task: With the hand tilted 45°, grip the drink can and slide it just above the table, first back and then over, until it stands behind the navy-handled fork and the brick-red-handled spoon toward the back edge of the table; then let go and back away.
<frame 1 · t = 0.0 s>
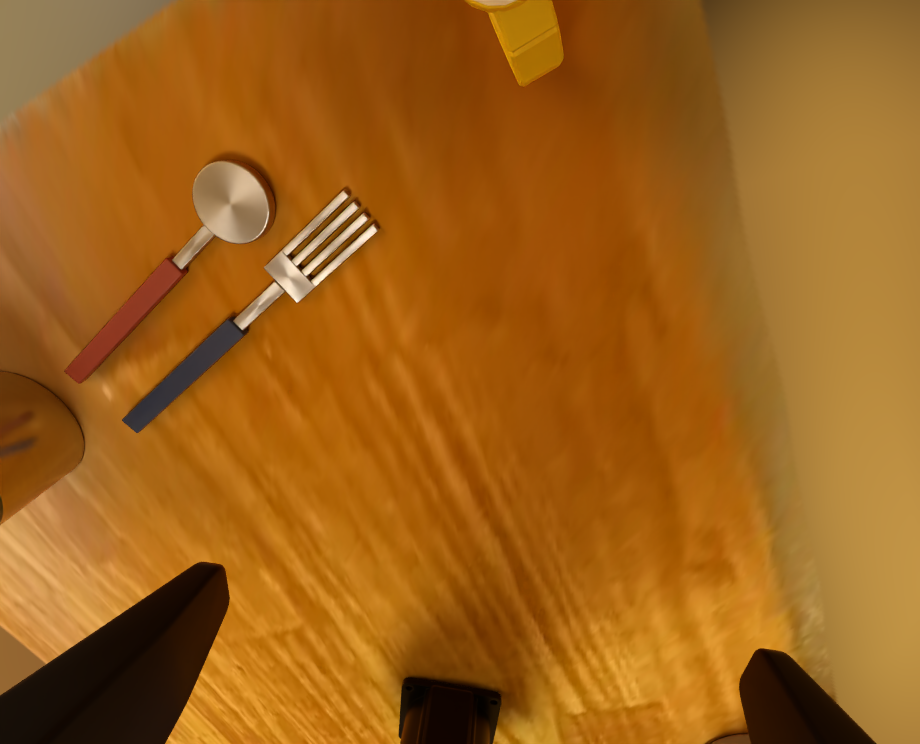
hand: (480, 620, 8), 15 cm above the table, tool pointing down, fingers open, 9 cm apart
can: (24, 425, 27), on the table
fork: (234, 329, 23), on the table
spoon: (168, 277, 22), on the table
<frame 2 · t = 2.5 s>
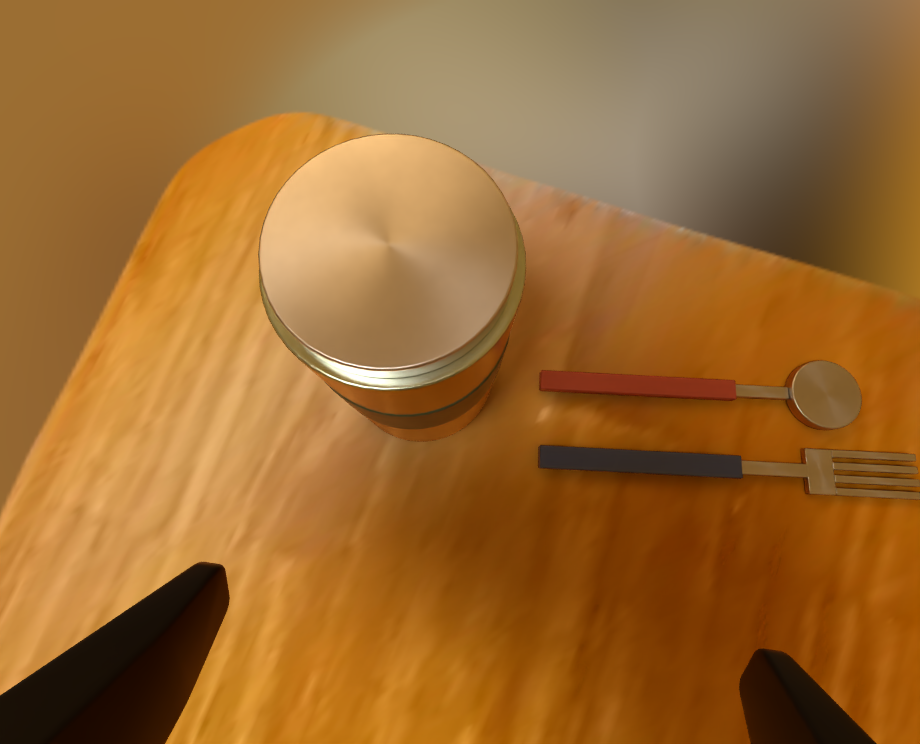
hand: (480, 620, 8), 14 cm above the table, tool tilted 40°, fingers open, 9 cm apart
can: (422, 371, 24), on the table
fork: (725, 467, 23), on the table
spoon: (709, 390, 23), on the table
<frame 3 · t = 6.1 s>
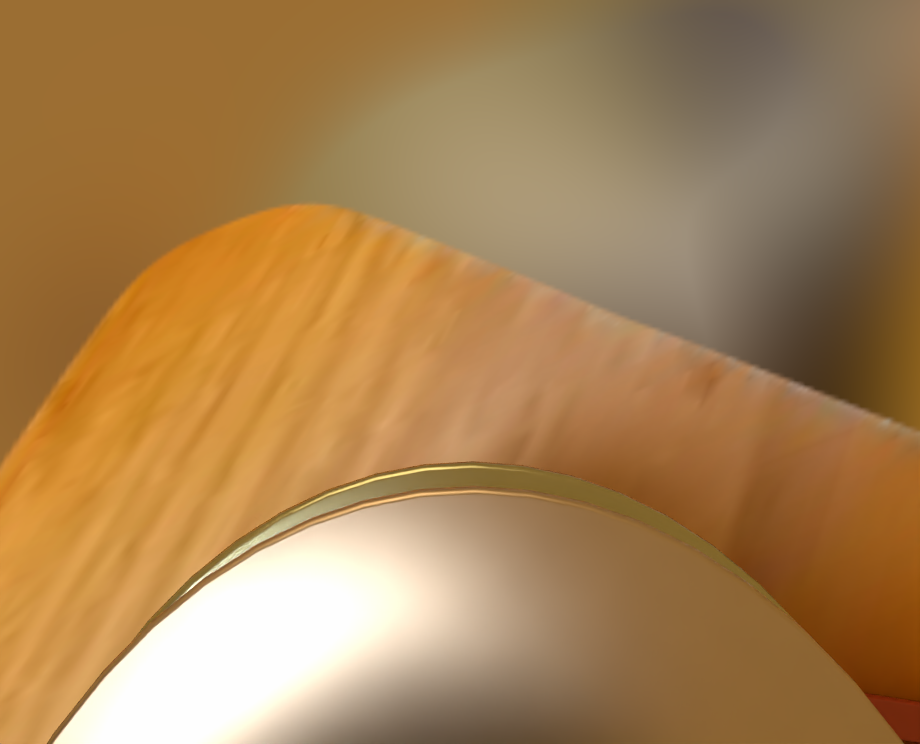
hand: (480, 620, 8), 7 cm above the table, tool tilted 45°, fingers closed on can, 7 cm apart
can: (466, 639, 14), on the table, touching gripper
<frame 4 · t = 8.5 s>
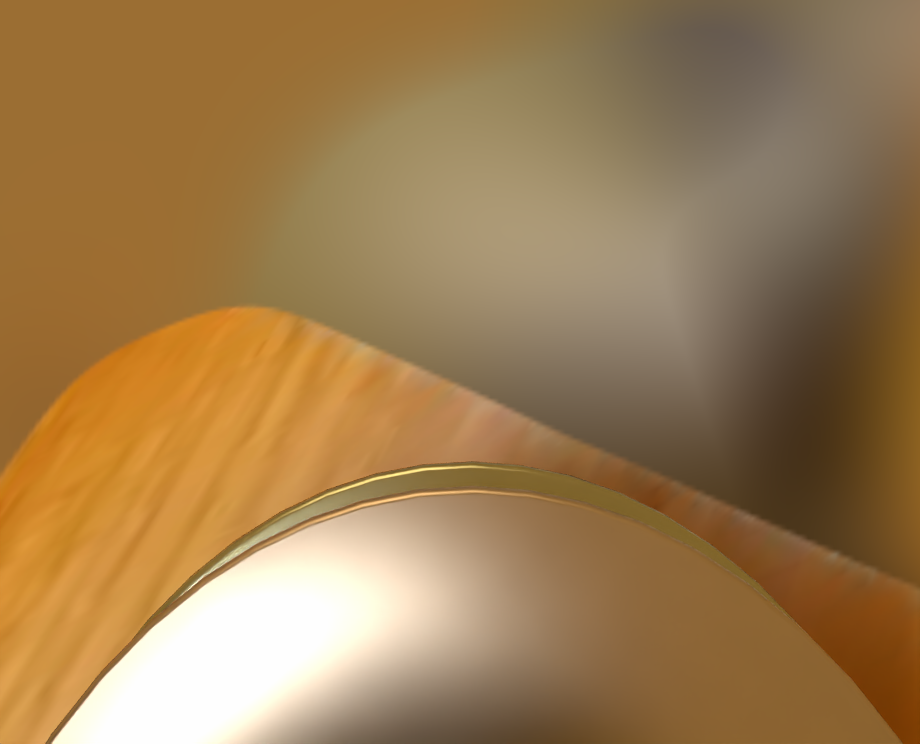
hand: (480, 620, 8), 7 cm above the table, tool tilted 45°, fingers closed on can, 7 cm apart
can: (466, 639, 14), point 1 cm above the table, touching gripper
when the fingers open (7 cm above the table, at t = 11.0 s): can stays where it is, on the table.
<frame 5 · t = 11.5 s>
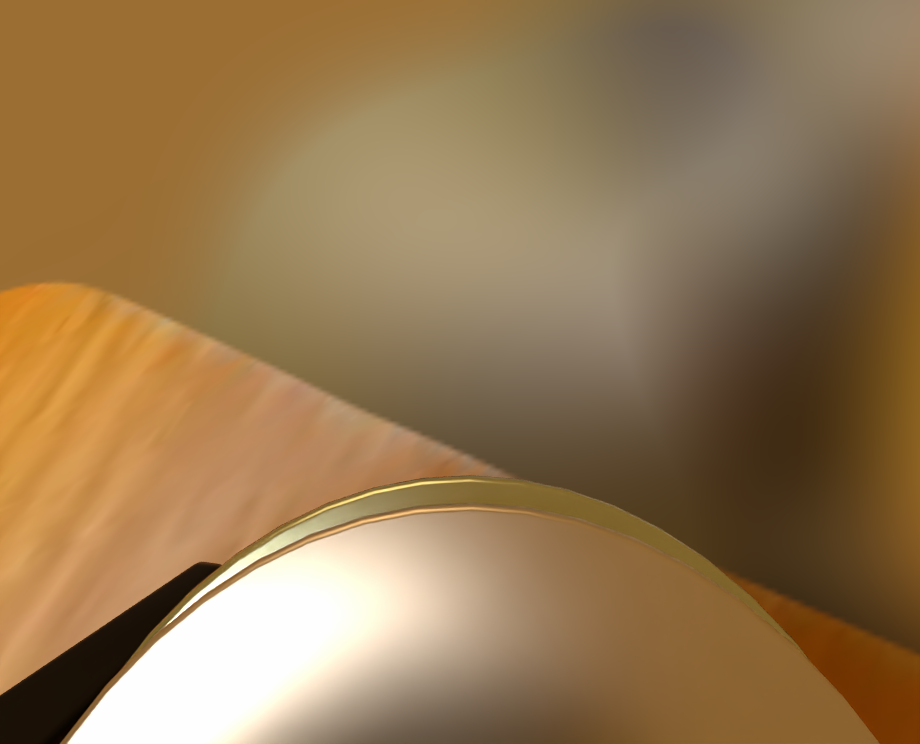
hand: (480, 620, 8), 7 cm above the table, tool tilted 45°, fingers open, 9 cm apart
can: (465, 643, 14), on the table
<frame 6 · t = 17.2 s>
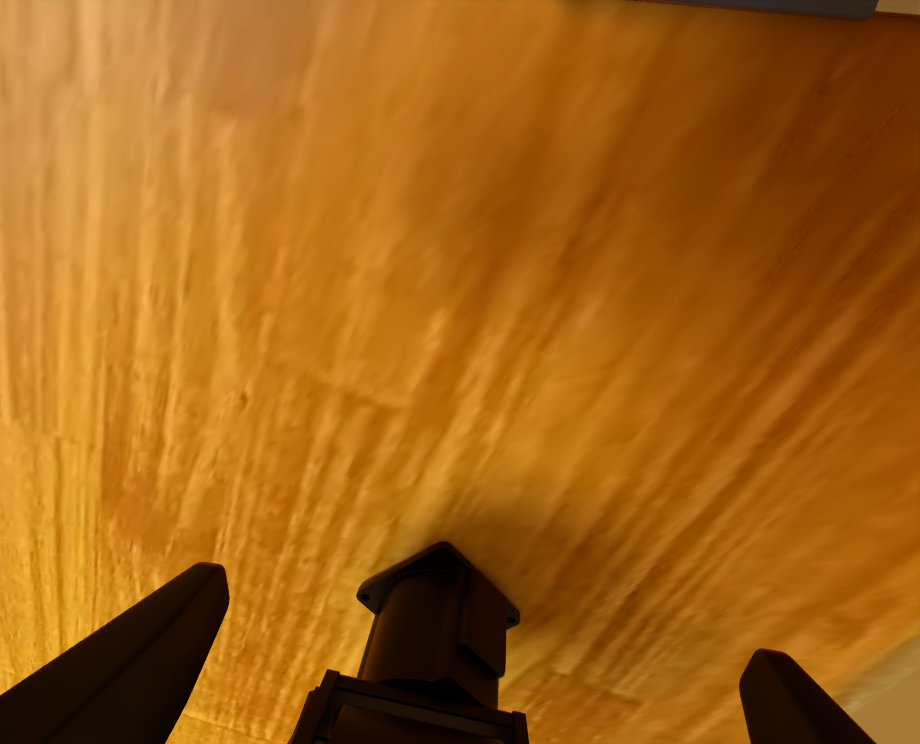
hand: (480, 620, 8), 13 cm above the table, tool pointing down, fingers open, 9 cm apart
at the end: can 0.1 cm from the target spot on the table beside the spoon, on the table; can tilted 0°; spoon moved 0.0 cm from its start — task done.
